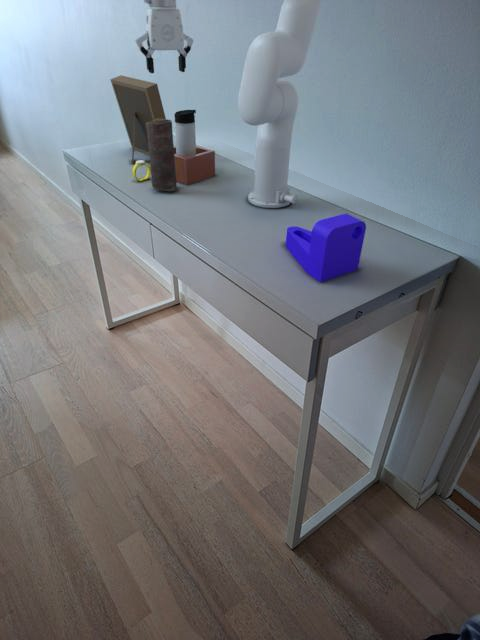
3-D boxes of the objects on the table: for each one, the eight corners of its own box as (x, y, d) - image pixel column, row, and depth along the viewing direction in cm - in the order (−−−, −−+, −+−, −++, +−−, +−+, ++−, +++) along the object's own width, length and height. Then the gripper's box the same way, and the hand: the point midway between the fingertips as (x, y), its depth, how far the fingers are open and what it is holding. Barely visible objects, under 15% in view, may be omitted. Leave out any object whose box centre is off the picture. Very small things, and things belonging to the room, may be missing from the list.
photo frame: (141, 146, 175) (134, 74, 161) (175, 160, 163) (171, 82, 148) (107, 153, 167) (96, 77, 152) (140, 167, 154) (132, 86, 140)
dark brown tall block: (160, 195, 134) (154, 123, 122) (147, 188, 138) (140, 118, 127) (181, 190, 138) (178, 120, 126) (168, 183, 142) (164, 115, 131)
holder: (215, 175, 150) (215, 150, 145) (187, 185, 142) (186, 159, 137) (187, 167, 157) (186, 143, 152) (159, 175, 148) (157, 150, 144)
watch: (147, 177, 147) (146, 158, 143) (152, 179, 145) (151, 160, 142) (132, 181, 143) (129, 162, 140) (137, 183, 142) (134, 164, 138)
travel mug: (196, 179, 147) (194, 112, 135) (176, 178, 147) (172, 111, 135) (198, 172, 152) (196, 108, 140) (178, 172, 152) (175, 107, 140)
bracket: (357, 269, 101) (367, 219, 94) (320, 281, 96) (328, 230, 89) (305, 238, 113) (311, 192, 106) (270, 248, 108) (273, 200, 101)
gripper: (136, 2, 121) (142, 75, 131) (196, 3, 127) (198, 72, 137) (128, 1, 126) (135, 71, 136) (186, 3, 133) (189, 69, 143)
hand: (166, 72), depth 137 cm, fingers open, 9 cm apart
